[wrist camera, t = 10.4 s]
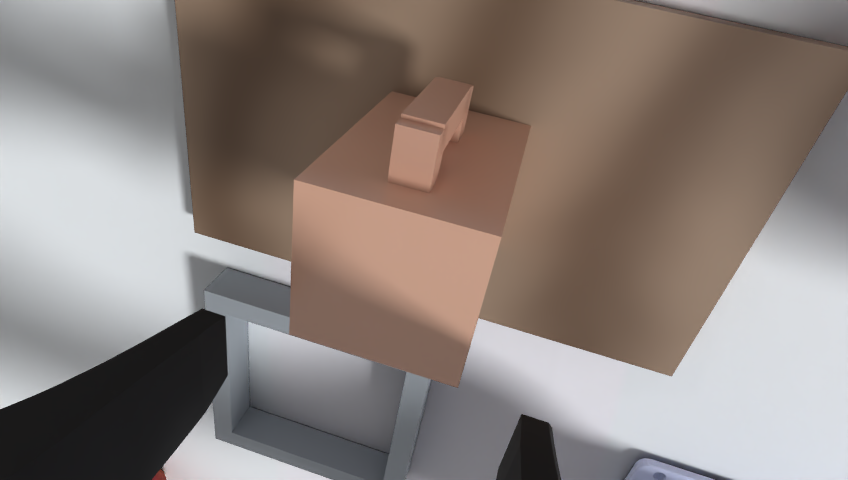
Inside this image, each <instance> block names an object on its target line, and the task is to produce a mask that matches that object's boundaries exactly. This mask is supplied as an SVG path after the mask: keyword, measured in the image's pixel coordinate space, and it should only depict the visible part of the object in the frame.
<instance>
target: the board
mask: <svg viewBox="0 0 848 480" xmlns="http://www.w3.org/2000/svg"><path fill="white" fill-rule="evenodd" d="M175 8H176V20H177V32H178V43H179V55H180V67H181V78H182V90H183V102H184V113H185V125H186V137H187V149H188V160H189V172H190V184H191V195H192V207H193V219H194V230H195V233H199V234H202V235H205V236H208V237H212V238H215V239H218V240H222V241H225V242H228V243H232V244H235V245H238V246H242V247H245V248H248V249H252V250H255V251H258V252H261V253H265V254H268V255H271V256H275V257H278V258H281V259H285V260H288V261H291V257H292V224H293V191H294V179H295V178H296V177H297V176H298V175H300V174H301V173H302V172H303V171H304V170H305V169H306V168H307V167H308V166H309V165H311V164H312V163H313V162H314V161H315V160H316V159H317V158H318V157H319V156H321V155H322V154H323V153H324V152H325V151H326V150H327V149H328V148H329V147H331V146H332V145H333V144H334V143H335V142H336V141H337V140H338V139H339V138H341V137H342V136H343V135H344V134H345V133H346V132H347V131H348V130H349V129H350V128H352V127H353V126H354V125H355V124H356V123H357V122H358V121H359V120H360V119H362V118H363V117H364V116H365V115H366V114H367V113H368V112H369V111H370V110H372V109H373V108H374V107H375V106H376V105H377V104H378V103H379V102H380V101H382V100H383V99H384V98H385V97H386V96H387V95H388V94H389V93H390V92H392V91H393V92H397V93H401V94H405V95H409V96H413V97H417V96H418V95H419V94H420V93H421V92H422V91H423V90H424V89H425V88H426V87H427V86H428V85H429V83H430V82H431V81H432V80H433V79H434V78H435V77H442V78H446V79H450V80H454V81H458V82H462V83H467V84H471V85H474V87H473V91H472V96H471V101H470V105H469V110H470V111H474V112H478V113H482V114H486V115H490V116H494V117H498V118H502V119H506V120H510V121H514V122H518V123H522V124H526V125H530V126H531V128H530V132H529V136H528V140H527V143H526V147H525V151H524V155H523V158H522V162H521V166H520V170H519V174H518V177H517V181H516V185H515V189H514V192H513V196H512V200H511V204H510V208H509V211H508V215H507V219H506V223H505V227H504V230H503V234H502V238H501V241H500V245H499V248H498V252H497V255H496V258H495V262H494V265H493V269H492V272H491V276H490V279H489V283H488V286H487V289H486V293H485V296H484V300H483V303H482V307H481V310H480V314H479V317H478V318H480V319H483V320H487V321H490V322H493V323H497V324H500V325H503V326H506V327H510V328H513V329H516V330H520V331H523V332H526V333H530V334H533V335H536V336H540V337H543V338H546V339H549V340H553V341H556V342H559V343H563V344H566V345H569V346H573V347H576V348H579V349H583V350H586V351H589V352H593V353H596V354H599V355H602V356H606V357H609V358H612V359H616V360H619V361H622V362H626V363H629V364H632V365H636V366H639V367H642V368H645V369H649V370H652V371H655V372H659V373H662V374H665V375H669V376H672V375H673V373H674V372H675V370H676V368H677V367H678V365H679V364H680V362H681V360H682V359H683V357H684V355H685V354H686V352H687V351H688V349H689V347H690V346H691V344H692V342H693V341H694V339H695V337H696V336H697V334H698V333H699V331H700V329H701V328H702V326H703V324H704V323H705V321H706V320H707V318H708V316H709V315H710V313H711V311H712V310H713V308H714V307H715V305H716V303H717V302H718V300H719V298H720V297H721V295H722V294H723V292H724V290H725V289H726V287H727V285H728V284H729V282H730V280H731V279H732V277H733V276H734V274H735V272H736V271H737V269H738V267H739V266H740V264H741V263H742V261H743V259H744V258H745V256H746V254H747V253H748V251H749V250H750V248H751V246H752V245H753V243H754V241H755V240H756V238H757V237H758V235H759V233H760V232H761V230H762V228H763V227H764V225H765V224H766V222H767V220H768V219H769V217H770V215H771V214H772V212H773V210H774V209H775V207H776V206H777V204H778V202H779V201H780V199H781V197H782V196H783V194H784V193H785V191H786V189H787V188H788V186H789V184H790V183H791V181H792V180H793V178H794V176H795V175H796V173H797V171H798V170H799V168H800V167H801V165H802V163H803V162H804V160H805V158H806V157H807V155H808V154H809V152H810V150H811V149H812V147H813V145H814V144H815V142H816V140H817V139H818V137H819V136H820V134H821V132H822V131H823V129H824V127H825V126H826V124H827V123H828V121H829V119H830V118H831V116H832V114H833V113H834V111H835V110H836V108H837V106H838V105H839V103H840V101H841V100H842V98H843V97H844V95H845V93H846V92H847V90H848V47H847V46H842V45H838V44H833V43H829V42H824V41H819V40H815V39H810V38H806V37H801V36H796V35H792V34H787V33H783V32H778V31H773V30H769V29H764V28H760V27H755V26H750V25H746V24H741V23H737V22H732V21H727V20H723V19H718V18H714V17H709V16H704V15H700V14H695V13H691V12H686V11H681V10H677V9H672V8H668V7H663V6H658V5H654V4H649V3H645V2H640V1H636V0H175Z"/></svg>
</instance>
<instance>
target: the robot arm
mask: <svg viewBox="0 0 848 480" xmlns="http://www.w3.org/2000/svg"><path fill="white" fill-rule="evenodd" d="M227 376H228V365H227V341H226V317H225V316H223V315H220V314H217V313H214V312H211V311H208V310H205V309H201V310H199V311H197V312H195V313H193V314H192V315H190V316H188V317H186V318H184V319H182V320H181V321H179V322H177V323H175V324H174V325H172V326H170V327H168V328H166V329H165V330H163V331H161V332H159V333H157V334H156V335H154V336H152V337H150V338H148V339H147V340H145V341H143V342H141V343H139V344H138V345H136V346H134V347H132V348H130V349H128V350H126V351H125V352H123V353H121V354H119V355H117V356H115V357H113V358H111V359H110V360H108V361H106V362H104V363H102V364H100V365H98V366H96V367H94V368H92V369H90V370H88V371H86V372H84V373H82V374H80V375H78V376H75V377H73V378H71V379H69V380H67V381H65V382H63V383H61V384H59V385H57V386H55V387H52V388H50V389H48V390H46V391H43V392H41V393H39V394H37V395H34V396H32V397H29V398H27V399H25V400H22V401H20V402H17V403H15V404H12V405H10V406H8V407H5V408H2V409H0V480H152V479H153V478H154V476H155V475H156V474H157V473H158V471H159V470H160V469H161V468H162V466H163V465H164V464H165V463H166V461H167V460H168V459H169V458H170V456H171V455H172V454H173V453H174V451H175V450H176V449H177V448H178V446H179V445H180V444H181V443H182V441H183V440H184V439H185V438H186V436H187V435H188V434H189V433H190V431H191V430H192V429H193V428H194V426H195V425H196V424H197V422H198V421H199V420H200V419H201V417H202V416H203V415H204V413H205V412H206V410H207V409H208V407H209V406H210V404H211V402H212V401H213V399H214V398H215V396H216V395H217V393H218V391H219V390H220V388H221V386H222V385H223V383H224V381H225V380H226V378H227ZM658 472H660V473H658ZM496 480H561V477H560V472H559V468H558V462H557V457H556V452H555V446H554V440H553V432H552V427H551V426H550V424H549V423H547V422H544V421H541V420H538V419H535V418H532V417H529V416H526V415H523V414H521V417H520V419H519V421H518V424H517V426H516V428H515V431H514V433H513V436H512V438H511V440H510V443H509V445H508V447H507V450H506V452H505V454H504V457H503V459H502V462H501V464H500V466H499V469H498V473H497V478H496ZM625 480H715V479H712V478H708V477H705V476H702V475H699V474H696V473H693V472H690V471H687V470H684V469H681V468H677V467H674V466H671V465H668V464H665V463H662V462H659V461H656V460H653V459H648V458H643V459H640V460H638V461H637V462H636V463H635V465H634V466H633V468H632V469H631V471H630V472H629V474H628V476H627V477H626V479H625Z"/></svg>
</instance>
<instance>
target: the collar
mask: <svg viewBox="0 0 848 480" xmlns="http://www.w3.org/2000/svg"><path fill="white" fill-rule="evenodd" d="M290 290H291V287H288V286H285V285H281V284H278V283H275V282H272V281H268V280H265V279H262V278H259V277H255V276H252V275H249V274H246V273H243V272H239V271H236V270H233V269H230V268H226V269H225V270H224V271H223V272H222V273H221V274H220V275H219V276H218V277H217V278H216V279H215V280H214V281H213V282H212V283H211V284H210V285H209V286H208V287H207V288H206V289H205V290H204V298H205V310H208V311H211V312H214V313H217V314H220V315H223V316H225V317H226V341H227V365H228V376H227V378H226V380H225V381H224V383H223V385H222V386H221V388H220V390H219V391H218V393H217V395H216V396H215V398H214V399H213V411H214V423H215V436H216V439H219V440H222V441H225V442H227V443H230V444H233V445H236V446H239V447H242V448H244V449H247V450H250V451H253V452H256V453H259V454H261V455H264V456H267V457H270V458H273V459H276V460H278V461H281V462H284V463H287V464H290V465H292V466H295V467H298V468H301V469H304V470H307V471H309V472H312V473H315V474H318V475H321V476H324V477H326V478H329V479H332V480H406V477H407V474H408V470H409V466H410V463H411V459H412V455H413V451H414V447H415V443H416V439H417V435H418V431H419V427H420V423H421V419H422V415H423V411H424V407H425V403H426V399H427V396H428V392H429V388H430V384H431V379H428V378H425V377H422V376H419V375H415V374H412V373H409V372H406V371H404V372H406V377H405V381H404V386H403V391H402V395H401V400H400V405H399V409H398V414H397V419H396V424H395V428H394V433H393V438H392V442H391V447H390V452H389V454H386V453H383V452H380V451H377V450H375V449H372V448H369V447H366V446H363V445H360V444H357V443H354V442H351V441H348V440H345V439H342V438H339V437H337V436H334V435H331V434H328V433H325V432H322V431H319V430H316V429H313V428H310V427H307V426H304V425H301V424H299V423H296V422H293V421H290V420H287V419H284V418H281V417H278V416H275V415H272V414H269V413H266V412H263V411H261V410H258V409H255V408H252V407H250V396H249V352H248V322H252V323H255V324H258V325H261V326H264V327H267V328H270V329H273V330H276V331H280V332H283V333H286V334H289V323H290ZM295 337H296V336H295ZM298 338H299V337H298ZM301 339H302V338H301ZM314 343H315V342H314ZM317 344H318V343H317ZM320 345H321V344H320ZM323 346H324V345H323ZM326 347H327V346H326ZM329 348H330V347H329ZM336 350H337V349H336ZM339 351H340V350H339ZM342 352H343V351H342ZM345 353H346V352H345ZM348 354H349V353H348ZM351 355H352V354H351ZM354 356H356V355H354ZM358 357H359V356H358ZM361 358H362V357H361ZM364 359H365V358H364ZM367 360H368V359H367ZM370 361H371V360H370ZM373 362H374V361H373ZM376 363H378V362H376ZM379 364H381V363H379ZM383 365H384V364H383ZM386 366H387V365H386ZM389 367H390V366H389ZM392 368H393V367H392ZM395 369H397V368H395ZM398 370H400V369H398ZM401 371H403V370H401Z"/></svg>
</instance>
